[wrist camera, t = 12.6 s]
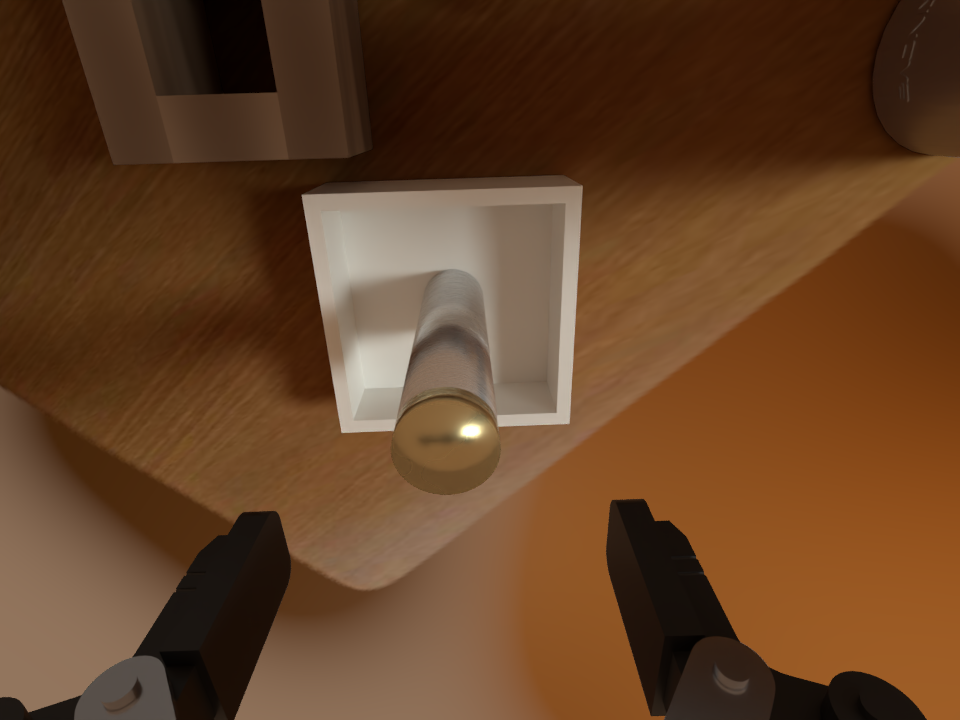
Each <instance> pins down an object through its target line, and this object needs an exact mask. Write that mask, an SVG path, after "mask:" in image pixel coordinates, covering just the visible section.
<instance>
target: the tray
mask: <svg viewBox="0 0 960 720" xmlns="http://www.w3.org/2000/svg"><path fill="white" fill-rule="evenodd" d="M582 191H583V186H582V185H580V184H579V183H577V182H575V181H574V180H572V179H570V178H568V177H567V176H565V175H550V176H518V177H486V178H455V179H423V180H392V181H360V182H328V183H325V184H323V185H321V186H319V187H317V188H315V189H312V190H310V191H308V192H306V193H304V194H302V201H303V207H304V213H305V219H306V225H307V231H308V236H309V242H310V248H311V254H312V260H313V266H314V272H315V278H316V284H317V290H318V296H319V302H320V307H321V313H322V319H323V325H324V331H325V337H326V343H327V349H328V355H329V361H330V367H331V373H332V378H333V384H334V390H335V396H336V402H337V408H338V414H339V420H340V426H341V432H342V433H348V432H373V431H394V428H395V424H396V419H397V414H398V410H399V405H400V401H401V396H402V392H403V387H404V382H405V378H406V373H407V369H408V364H409V360H410V355H411V350H412V346H413V341H414V337H415V332H416V327H417V323H418V318H419V314H420V309H421V305H422V300H423V295H424V291H425V288H426V285H427V284H428V282H429V281H430V279H431V278H432V277H433V276H434V275H436V274H437V273H439V272H441V271H444V270H448V269H458V270H462V271H465V272H467V273H469V274H471V275H472V276H473V277H474V278H475V279H476V280H477V281H478V282H479V284H480V286H481V288H482V291H483V298H484V307H485V316H486V325H487V333H488V342H489V351H490V360H491V368H492V377H493V386H494V395H495V403H496V412H497V421H498V427H500V426H525V425H551V424H569V422H570V404H571V387H572V369H573V351H574V333H575V316H576V298H577V280H578V262H579V244H580V227H581V209H582Z"/></svg>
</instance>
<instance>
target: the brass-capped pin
mask: <svg viewBox="0 0 960 720" xmlns="http://www.w3.org/2000/svg"><path fill="white" fill-rule="evenodd" d="M500 451H501V448H500V439H499V430H498V421H497V412H496V403H495V395H494V386H493V377H492V368H491V360H490V351H489V342H488V333H487V325H486V316H485V307H484V298H483V291H482V288H481V286H480V284H479V282H478V281H477V280H476V279H475V278H474V277H473V276H472V275H471V274H469V273H467V272H465V271H462V270H458V269H448V270H444V271H441V272H439V273H437V274H436V275H434V276H433V277H432V278H431V279H430V281H429V282H428V284H427V285H426V288H425V291H424V295H423V300H422V305H421V309H420V314H419V318H418V323H417V327H416V332H415V337H414V341H413V346H412V350H411V355H410V360H409V364H408V369H407V373H406V378H405V382H404V387H403V392H402V396H401V401H400V405H399V410H398V414H397V419H396V424H395V428H394V433H393V437H392V442H391V456H392V460H393V463H394V465H395V467H396V469H397V471H398V472H399V474H400V475H401V476H402V477H403V478H404V479H405V480H406V481H407V482H409V483H410V484H411V485H413V486H414V487H416V488H418V489H420V490H423V491H426V492H429V493H433V494H440V495H452V494H459V493H463V492H466V491H469V490H472V489H474V488H476V487H478V486H479V485H481V484H482V483H483V482H485V481H486V480H487V479H488V478H489V477H490V476H491V475H492V473H493V472H494V470H495V469H496V467H497V465H498V462H499V458H500Z"/></svg>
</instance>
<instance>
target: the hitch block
mask: <svg viewBox="0 0 960 720" xmlns="http://www.w3.org/2000/svg"><path fill="white" fill-rule="evenodd" d="M62 2H63V5H64V8H65V12H66V15H67V18H68V21H69V24H70V28H71V31H72V34H73V37H74V40H75V44H76V47H77V50H78V53H79V56H80V60H81V63H82V66H83V69H84V72H85V76H86V79H87V82H88V85H89V88H90V92H91V95H92V98H93V101H94V104H95V108H96V111H97V114H98V117H99V120H100V124H101V127H102V130H103V133H104V136H105V140H106V143H107V146H108V149H109V152H110V156H111V159H112V162H113V165H129V164H162V163H194V162H226V161H259V160H291V159H323V158H349V157H352V156H355V155H358V154H360V153H363V152H366V151H369V150H371V149H373V144H372V134H371V125H370V116H369V107H368V97H367V88H366V79H365V69H364V60H363V51H362V42H361V32H360V23H359V14H358V4H357V0H261V3H262V8H263V14H264V20H265V26H266V31H267V37H268V43H269V49H270V54H271V60H272V66H273V72H274V77H275V83H276V89H277V92H276V93H241V94H223V90H222V85H221V81H220V76H219V71H218V67H217V62H216V57H215V53H214V48H213V43H212V39H211V34H210V29H209V25H208V20H207V15H206V11H205V6H204V1H203V0H62Z"/></svg>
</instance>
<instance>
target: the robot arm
mask: <svg viewBox="0 0 960 720" xmlns="http://www.w3.org/2000/svg"><path fill="white" fill-rule="evenodd" d="M873 99H874V103H875V107H876V111H877V115H878V118H879V119H880V121H881V123H882V125H883V127H884V129H885V130H886V132H887V133H888V134H889V135H890V136H891V137H892V138H893V139H894V140H895V141H896V142H897V143H898V144H900V145H902V146H903V147H905V148H907V149H909V150H911V151H913V152H918V153H923V154H927V155H935V156H947V157H960V0H901V1H900V2H899V4H898V5H897V7H896V9H895V11H894V13H893V15H892V17H891V18H890V20H889V22H888V24H887V26H886V28H885V31H884V33H883V36H882V39H881V42H880V45H879V48H878V50H877V54H876V60H875V66H874V71H873ZM607 536H608V537H607V546H606V555H607V565H608V571H609V575H610V579H611V582H612V585H613V589H614V592H615V596H616V599H617V602H618V606H619V609H620V613H621V616H622V619H623V623H624V626H625V630H626V633H627V636H628V640H629V643H630V647H631V650H632V653H633V657H634V660H635V664H636V667H637V670H638V674H639V677H640V680H641V684H642V687H643V691H644V694H645V697H646V701H647V704H648V708H649V711H650V715H651V716H665V719H664V720H927V719H926V718H925V716H924V715H923V714H922V712H921V711H920V710H919V708H918V707H917V706H916V705H915V704H914V703H913V702H912V701H911V700H910V699H909V698H908V697H907V696H906V695H905V694H903V692H901V691H900V690H898V689H897V688H896V687H894V686H893V685H891V684H889V683H888V682H886V681H884V680H882V679H880V678H878V677H876V676H873V675H870V674H866V673H862V672H855V671H848V672H843V673H840V674H838V675H836V676H835V677H834V678H833V679H832V680H831V682H830V684H829V686H826V685H822V684H819V683H815V682H811V681H808V680H804V679H800V678H796V677H793V676H789V675H786V674H783V673H780V672H778V671H776V670H774V669H772V668H770V667H768V666H767V664H766V663H765V662H764V660H762V658H761V657H760V656H759V655H758V654H757V653H756V652H755V651H753V650H752V649H751V648H749V647H748V646H746V645H744V644H742V643H741V642H740V641H739V640H738V638H737V636H736V634H735V632H734V630H733V628H732V626H731V624H730V622H729V620H728V618H727V617H726V615H725V613H724V611H723V609H722V607H721V605H720V603H719V601H718V599H717V597H716V595H715V593H714V591H713V589H712V587H711V585H710V583H709V581H708V579H707V577H706V576H705V575H704V571H703V569H702V567H701V565H700V563H699V561H698V560H697V559H696V555H695V553H694V551H693V549H692V547H691V545H690V543H689V541H688V539H687V537H686V536H685V535H684V534H683V533H682V532H681V531H680V530H678V529H677V528H676V527H675V526H674V525H673V524H672V523H671V522H670V521H654V518H653V516H652V514H651V512H650V509H649V507H648V505H647V503H646V501H645V500H644V499H630V500H629V499H627V500H612V502H611V504H610V513H609V524H608V535H607ZM290 573H291V559H290V554H289V551H288V547H287V543H286V539H285V535H284V532H283V528H282V524H281V520H280V517H279V515H278V513H277V512H276V511H263V512H244V513H242V514H241V515H240V516H239V517H238V519H237V520H236V522H235V524H234V525H233V527H232V529H231V530H230V532H229V534H228V535H220V536H217V537H216V538H215V539H214V540H213V541H212V542H210V543H209V544H208V545H207V546H206V547H205V548H204V549H202V550H201V551H200V552H199V553H198V555H197V556H196V558H195V560H194V561H193V563H192V564H191V566H190V567H189V569H188V571H187V575H186V576H184V577H183V579H182V580H181V582H180V583H179V585H178V587H177V588H176V589H177V590H176V592H174V593H173V594H172V596H171V597H170V599H169V601H168V603H167V604H166V605H165V607H164V609H163V610H162V612H161V613H160V615H159V616H158V618H157V620H156V621H155V623H154V624H153V626H152V628H151V629H150V631H149V632H148V634H147V635H146V637H145V639H144V640H143V642H142V643H141V645H140V647H139V648H138V650H137V651H136V653H135V654H134V656H133V657H132V658H129V659H126V660H124V661H121V662H119V663H117V664H115V665H114V666H112V667H110V668H109V669H107V670H106V671H105V672H103V673H102V674H101V675H100V676H98V677H97V678H96V679H95V680H94V681H93V682H92V683H91V684H90V685H89V686H88V688H87V689H86V690H85V691H84V693H83V694H82V695H81V696H78V697H75V698H72V699H69V700H66V701H63V702H60V703H57V704H54V705H50V706H48V707H44V708H41V709H38V710H35V711H32V712H29V713H28V711H27V710H26V708H25V707H24V705H23V704H22V703H21V702H20V701H19V700H17V699H15V698H11V697H2V698H0V720H234V719H235V716H236V714H237V711H238V709H239V706H240V703H241V701H242V699H243V696H244V694H245V691H246V689H247V686H248V683H249V681H250V679H251V676H252V674H253V671H254V669H255V666H256V663H257V661H258V658H259V656H260V653H261V651H262V649H263V646H264V644H265V641H266V639H267V636H268V634H269V631H270V628H271V626H272V623H273V621H274V618H275V616H276V613H277V611H278V608H279V606H280V603H281V601H282V598H283V596H284V593H285V591H286V588H287V586H288V583H289V579H290Z"/></svg>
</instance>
